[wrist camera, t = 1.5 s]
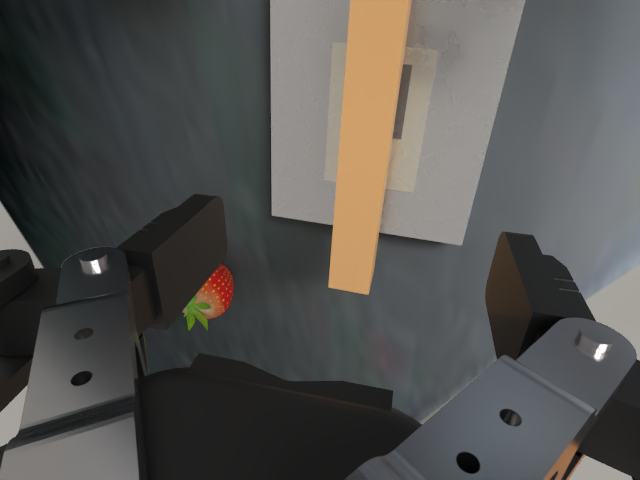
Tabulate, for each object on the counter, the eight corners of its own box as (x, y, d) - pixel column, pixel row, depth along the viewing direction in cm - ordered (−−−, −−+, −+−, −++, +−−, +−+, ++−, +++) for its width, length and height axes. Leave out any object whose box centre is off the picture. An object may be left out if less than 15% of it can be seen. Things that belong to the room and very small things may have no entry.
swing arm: (372, -227, 20) (362, -262, 17) (450, -230, 19) (453, -266, 16) (332, 265, 34) (324, 286, 31) (377, 273, 33) (372, 295, 30)
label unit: (279, -30, 29) (268, -32, 27) (524, -18, 26) (531, -19, 24) (279, 206, 38) (270, 217, 36) (460, 233, 35) (462, 247, 33)
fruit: (195, 276, 45) (153, 325, 38) (203, 237, 42) (158, 283, 35) (242, 295, 44) (207, 348, 38) (252, 258, 42) (217, 307, 35)
